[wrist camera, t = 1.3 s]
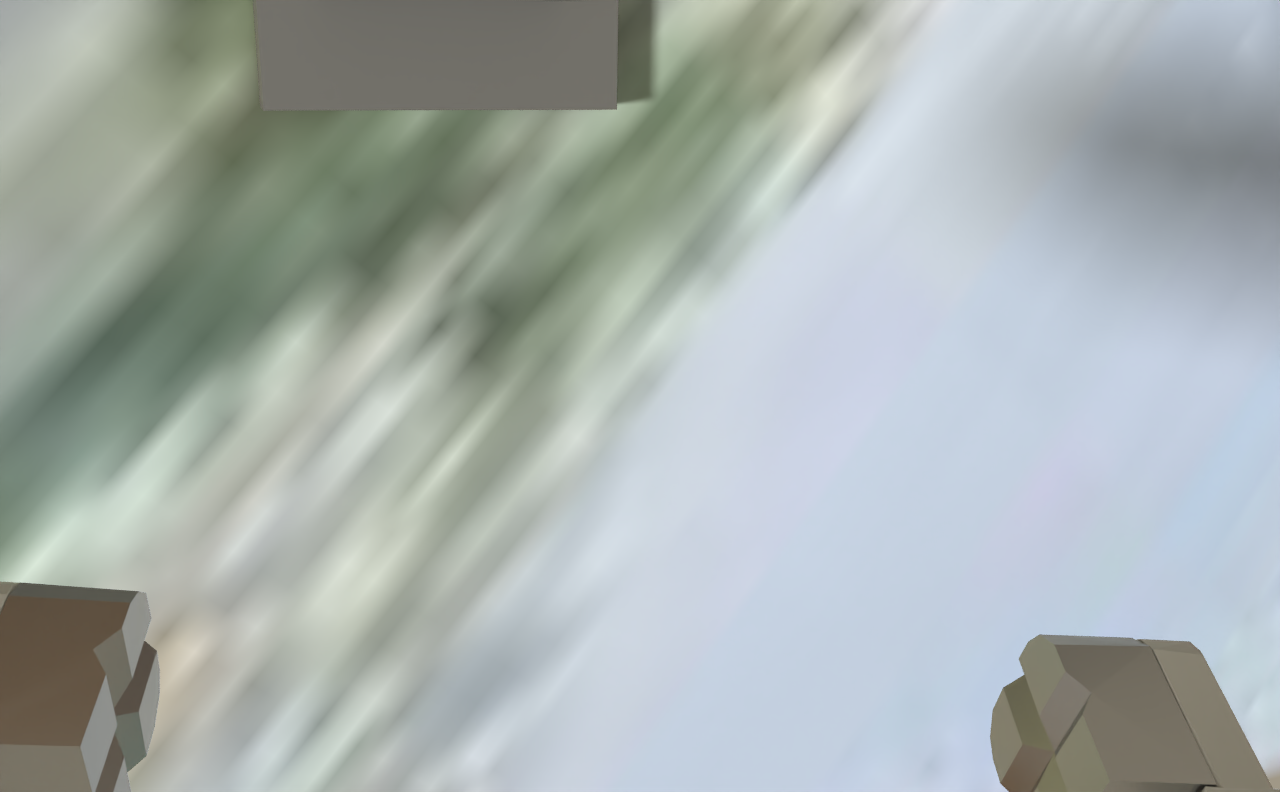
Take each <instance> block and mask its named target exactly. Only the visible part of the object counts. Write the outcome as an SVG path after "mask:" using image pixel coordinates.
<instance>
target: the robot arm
mask: <svg viewBox="0 0 1280 792" xmlns="http://www.w3.org/2000/svg"><path fill="white" fill-rule="evenodd" d="M150 621H151V614H150V609H149V605H148V600H147V595H146V593H144V592H139V591H126V590H112V589H99V588H85V587H72V586H58V585H45V584H31V583H13V582H0V792H131V789H130V784H129V779H128V774H127V772H128V771H129V770H131V769H132V768H133V767H134V766H135V765H136V764H138V763H139V762H140V761H141V760H142V759H143V758H144V757H146V756H147V752H148V748H149V745H150V741H151V738H152V734H153V730H154V727H155V720H156V714H157V707H158V700H159V694H160V669H159V662H158V655H157V651H156V650H155V649H154V648H153V647H151V646H150V645H149V644H148V643H147V642H145V641H144V640H145V637H146V633H147V630H148V627H149V624H150ZM1019 661H1020V663H1021V666H1022V669H1023V672H1024V674H1025V675H1023V676H1022V677H1020V678H1018V679H1017V680H1015V681H1014V682H1012V683H1010V684H1009V685H1007V686H1005V687H1004V688H1003V689H1002V692H1001V694H1000V696H999V698H998V700H997V702H996V704H995V707H994V709H993V713H992V723H991V734H990V740H991V747H992V755H993V761H994V764H995V767H996V770H997V774H998V777H999V780H1000V783H1001V784H1002V785H1003V786H1004V787H1005V788H1006V789H1007V790H1008V791H1009V792H1280V789H1273V788H1272V786H1271V784H1270V782H1269V780H1268V778H1267V776H1266V774H1265V772H1264V771H1263V769H1262V767H1261V765H1260V763H1259V761H1258V759H1257V757H1256V755H1255V753H1254V751H1253V750H1252V748H1251V746H1250V744H1249V742H1248V740H1247V738H1246V736H1245V734H1244V732H1243V731H1242V729H1241V727H1240V725H1239V723H1238V721H1237V719H1236V717H1235V715H1234V713H1233V711H1232V710H1231V708H1230V706H1229V704H1228V702H1227V700H1226V698H1225V696H1224V694H1223V692H1222V690H1221V689H1220V687H1219V685H1218V683H1217V681H1216V679H1215V677H1214V675H1213V673H1212V671H1211V670H1210V668H1209V666H1208V664H1207V662H1206V660H1205V658H1204V656H1203V654H1202V653H1201V651H1200V650H1199V649H1197V648H1196V647H1195V646H1194V645H1193V644H1192V643H1191V642H1187V641H1167V640H1147V639H1138V640H1135V639H1133V638H1123V637H1095V636H1067V635H1038V636H1036V637H1035V638H1033V639H1032V640H1030V641H1029V642H1028V643H1027V645H1026V647H1025V649H1024V650H1023V652H1022V654H1021V656H1020V657H1019Z"/></svg>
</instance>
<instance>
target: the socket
mask: <svg viewBox="0 0 1280 792" xmlns="http://www.w3.org/2000/svg"><path fill="white" fill-rule="evenodd" d="M253 9H254V24H255V39H256V53H257V68H258V83H259V97H260V107H261V108H262V109H263V110H602V109H617V60H618V0H253Z"/></svg>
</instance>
